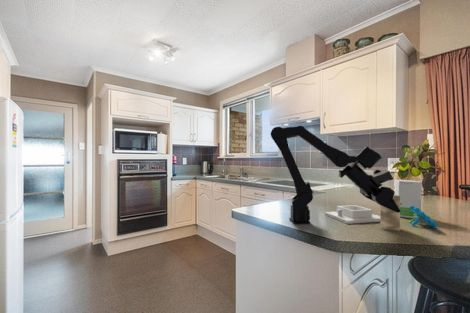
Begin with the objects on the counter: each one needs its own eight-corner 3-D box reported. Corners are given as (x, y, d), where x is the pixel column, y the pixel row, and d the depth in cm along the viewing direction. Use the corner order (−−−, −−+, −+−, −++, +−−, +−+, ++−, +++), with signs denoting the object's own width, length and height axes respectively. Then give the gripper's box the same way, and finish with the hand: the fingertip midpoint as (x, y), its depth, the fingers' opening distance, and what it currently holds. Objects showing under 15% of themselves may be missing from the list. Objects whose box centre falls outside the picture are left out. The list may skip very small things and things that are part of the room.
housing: (347, 223, 87) (347, 213, 87) (324, 214, 100) (324, 205, 100) (385, 221, 91) (385, 210, 91) (359, 212, 105) (359, 203, 105)
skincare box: (398, 217, 97) (398, 180, 97) (393, 213, 103) (393, 179, 103) (422, 219, 94) (422, 181, 94) (416, 215, 100) (416, 180, 100)
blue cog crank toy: (444, 227, 77) (418, 204, 81) (430, 238, 78) (404, 215, 82) (430, 223, 87) (407, 203, 91) (418, 233, 88) (395, 213, 92)
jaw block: (385, 229, 80) (385, 195, 80) (380, 225, 85) (380, 193, 85) (399, 230, 79) (399, 196, 79) (394, 226, 84) (394, 194, 84)
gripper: (387, 163, 74) (427, 198, 71) (368, 162, 92) (399, 190, 90) (360, 186, 76) (398, 221, 73) (347, 181, 94) (377, 208, 91)
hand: (393, 208), depth 82 cm, fingers open, 9 cm apart
